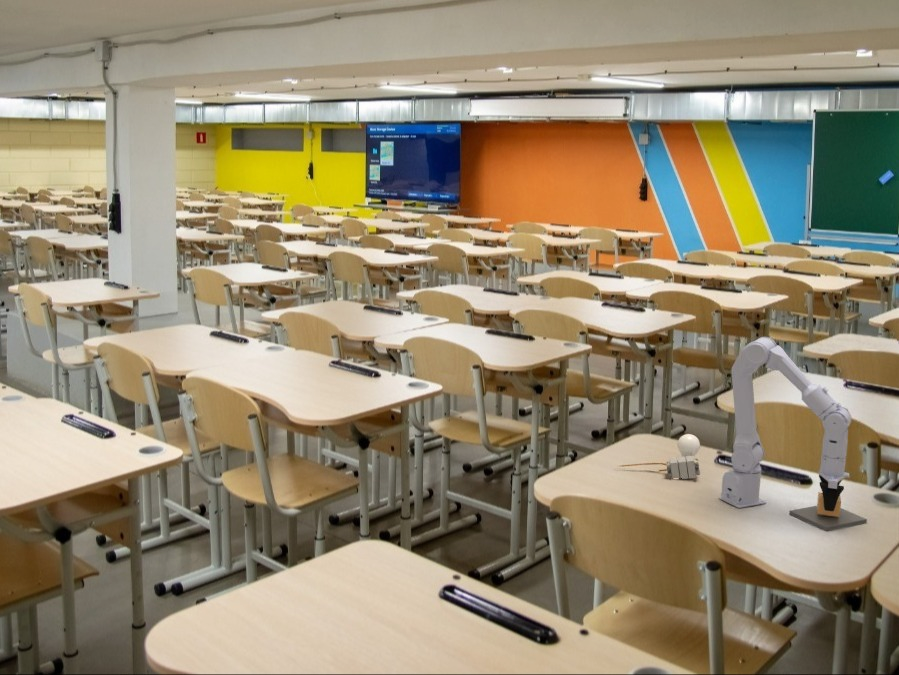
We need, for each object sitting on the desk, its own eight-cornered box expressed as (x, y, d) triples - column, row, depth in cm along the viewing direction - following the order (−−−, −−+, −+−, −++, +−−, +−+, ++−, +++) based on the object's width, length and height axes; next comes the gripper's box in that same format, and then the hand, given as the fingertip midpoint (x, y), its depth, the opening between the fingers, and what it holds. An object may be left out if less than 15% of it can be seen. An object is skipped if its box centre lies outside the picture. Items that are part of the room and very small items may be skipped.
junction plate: (825, 531, 228) (827, 517, 227) (789, 514, 239) (790, 501, 238) (866, 522, 234) (867, 509, 233) (829, 506, 245) (830, 494, 244)
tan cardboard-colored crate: (839, 516, 233) (841, 501, 232) (817, 513, 235) (818, 498, 234) (838, 509, 238) (840, 495, 237) (816, 507, 239) (818, 492, 239)
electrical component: (615, 485, 267) (612, 469, 267) (616, 479, 273) (613, 462, 272) (700, 477, 262) (698, 460, 261) (699, 471, 268) (697, 454, 267)
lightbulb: (700, 474, 269) (703, 437, 266) (678, 473, 269) (681, 437, 267) (695, 467, 275) (697, 431, 273) (673, 466, 275) (676, 431, 273)
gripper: (852, 465, 225) (847, 518, 228) (849, 449, 239) (844, 499, 241) (821, 462, 228) (816, 514, 230) (819, 446, 241) (815, 495, 244)
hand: (828, 506), depth 236 cm, fingers closed on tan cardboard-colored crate, 5 cm apart
